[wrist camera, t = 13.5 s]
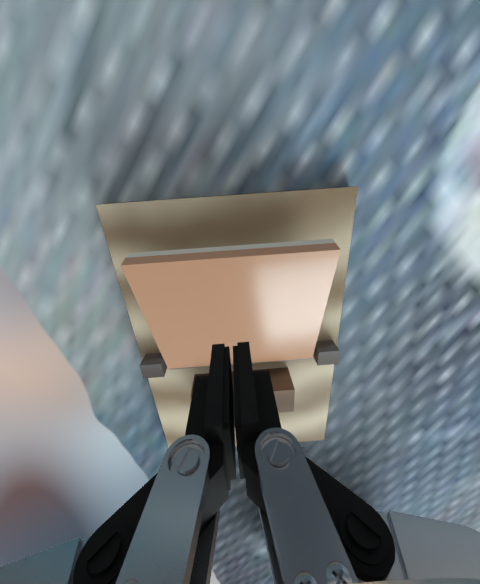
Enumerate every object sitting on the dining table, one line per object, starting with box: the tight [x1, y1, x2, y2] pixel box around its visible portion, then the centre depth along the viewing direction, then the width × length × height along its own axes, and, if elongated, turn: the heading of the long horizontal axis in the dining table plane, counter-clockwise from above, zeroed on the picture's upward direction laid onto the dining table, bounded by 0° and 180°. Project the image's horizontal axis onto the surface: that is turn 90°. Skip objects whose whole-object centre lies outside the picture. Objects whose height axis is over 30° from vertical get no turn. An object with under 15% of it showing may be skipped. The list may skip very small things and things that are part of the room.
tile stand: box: [96, 187, 358, 447], centre depth 23 cm, size 30×20×4 cm, turn 4°
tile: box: [121, 239, 341, 370], centre depth 19 cm, size 13×14×2 cm
